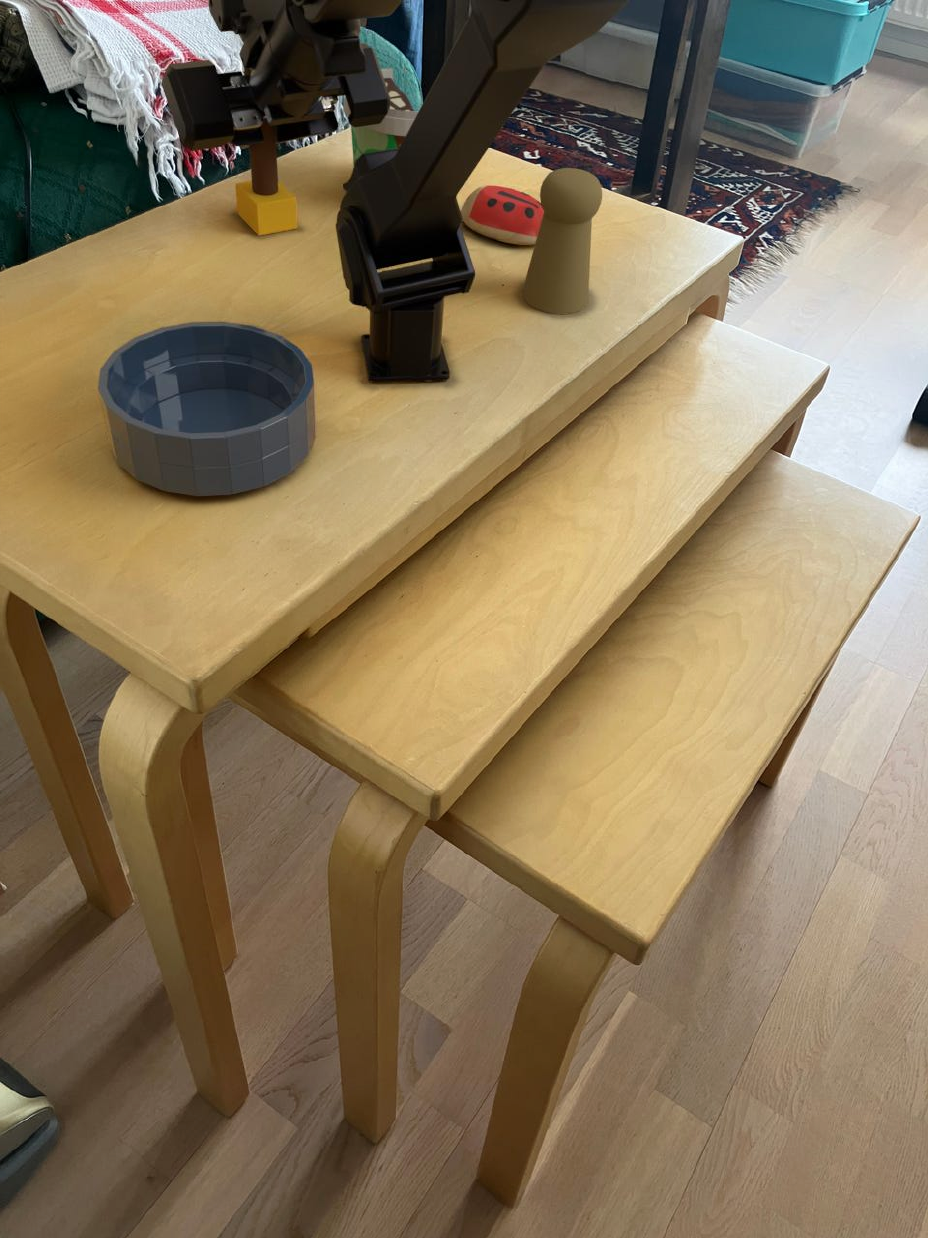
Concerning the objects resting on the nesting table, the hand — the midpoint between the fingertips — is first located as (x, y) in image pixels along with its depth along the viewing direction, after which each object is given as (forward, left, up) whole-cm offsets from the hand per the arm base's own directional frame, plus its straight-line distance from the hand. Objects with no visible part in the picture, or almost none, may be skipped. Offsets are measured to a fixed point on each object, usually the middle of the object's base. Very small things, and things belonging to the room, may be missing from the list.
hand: (256, 140), depth 94 cm
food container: (+5, -12, -7) cm, 14 cm away
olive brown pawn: (-16, -26, -7) cm, 31 cm away
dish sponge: (-1, -1, -7) cm, 7 cm away
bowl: (-36, +4, -7) cm, 37 cm away
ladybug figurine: (-3, -24, -7) cm, 25 cm away
